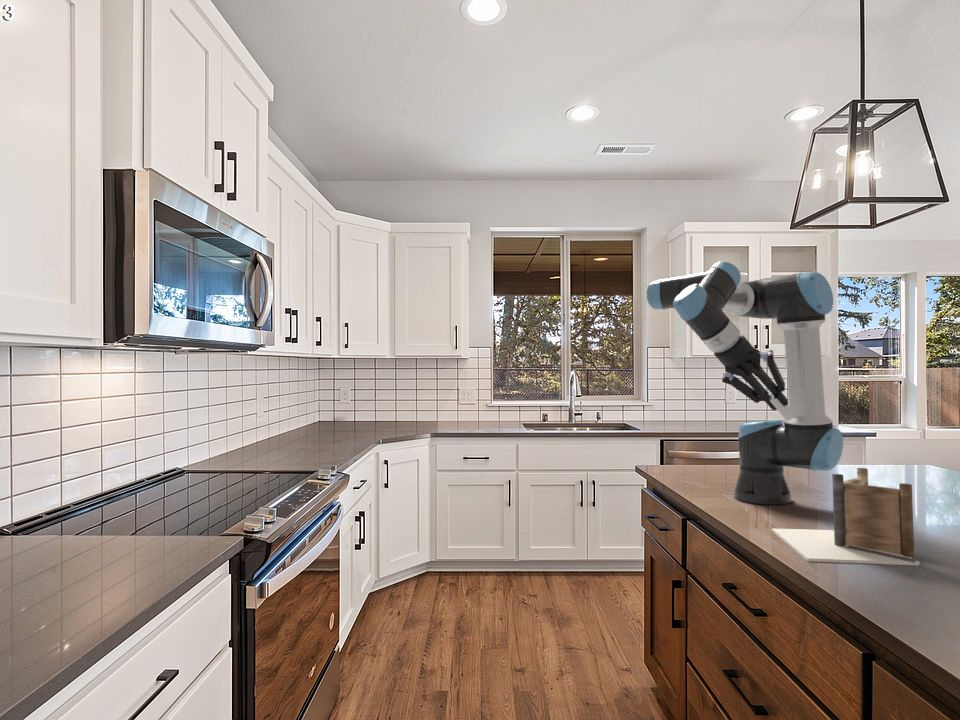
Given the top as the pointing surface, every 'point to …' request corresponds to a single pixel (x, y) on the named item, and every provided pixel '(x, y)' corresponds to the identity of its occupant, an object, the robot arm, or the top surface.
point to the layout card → (835, 549)
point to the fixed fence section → (843, 503)
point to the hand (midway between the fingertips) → (789, 416)
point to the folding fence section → (880, 518)
